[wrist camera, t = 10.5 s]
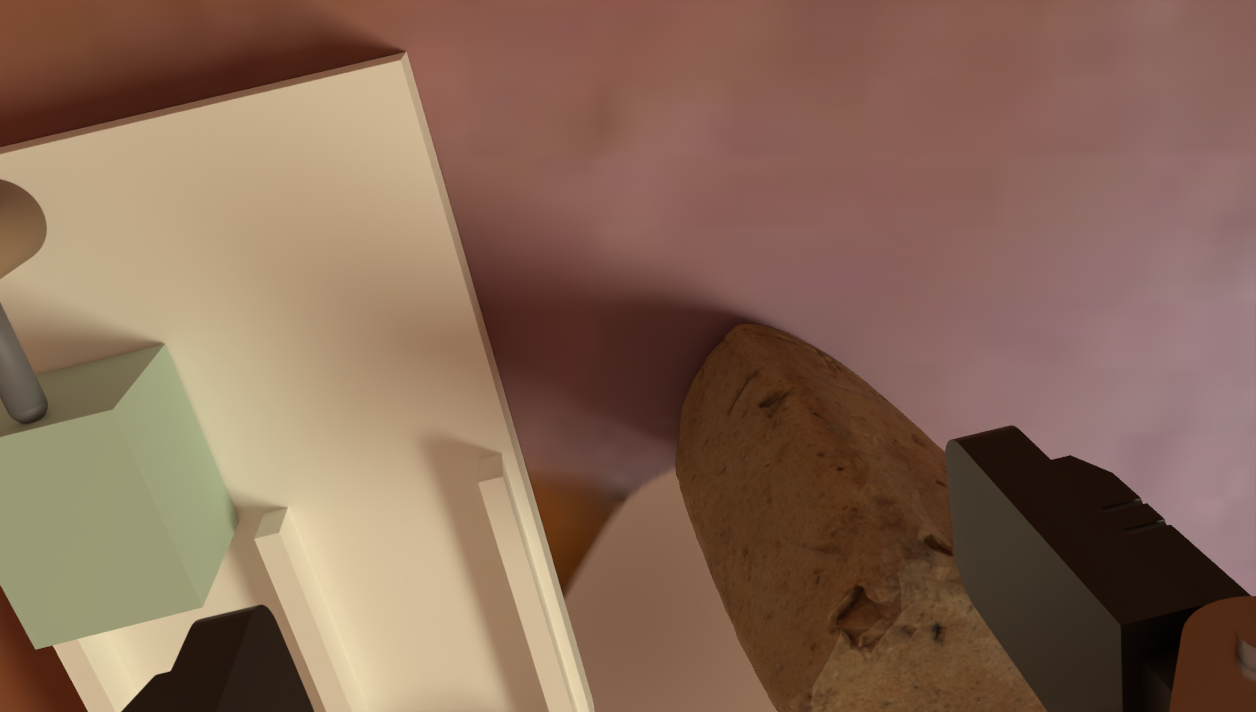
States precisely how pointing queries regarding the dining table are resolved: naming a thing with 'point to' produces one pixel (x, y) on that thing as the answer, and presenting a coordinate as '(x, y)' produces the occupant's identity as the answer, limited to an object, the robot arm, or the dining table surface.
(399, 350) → the shelf
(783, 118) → the dining table surface
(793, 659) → the brown tall faceted piece
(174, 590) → the pull block
